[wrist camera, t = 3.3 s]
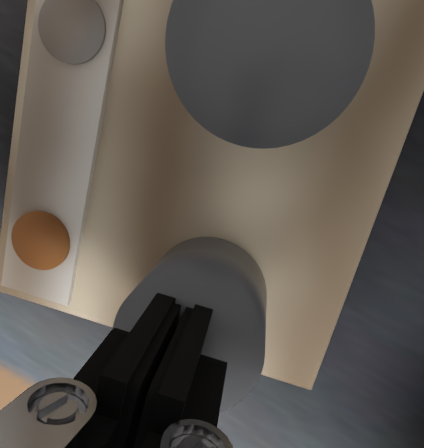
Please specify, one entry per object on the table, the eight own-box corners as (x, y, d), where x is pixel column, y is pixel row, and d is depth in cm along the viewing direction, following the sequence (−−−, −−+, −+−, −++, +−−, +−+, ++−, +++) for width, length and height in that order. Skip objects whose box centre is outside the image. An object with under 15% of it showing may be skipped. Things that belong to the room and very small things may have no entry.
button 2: (281, 256, 14) (285, 301, 10) (248, 359, 15) (240, 435, 11) (166, 222, 14) (127, 254, 11) (142, 325, 16) (100, 388, 12)
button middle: (361, 12, 11) (408, -51, 7) (314, 160, 12) (334, 171, 9) (217, -21, 12) (191, -98, 8) (184, 125, 13) (146, 120, 9)
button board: (548, -274, 11) (590, -335, 10) (308, 375, 17) (312, 398, 15) (89, -348, 12) (65, -413, 11) (8, 281, 18) (-15, 294, 16)
